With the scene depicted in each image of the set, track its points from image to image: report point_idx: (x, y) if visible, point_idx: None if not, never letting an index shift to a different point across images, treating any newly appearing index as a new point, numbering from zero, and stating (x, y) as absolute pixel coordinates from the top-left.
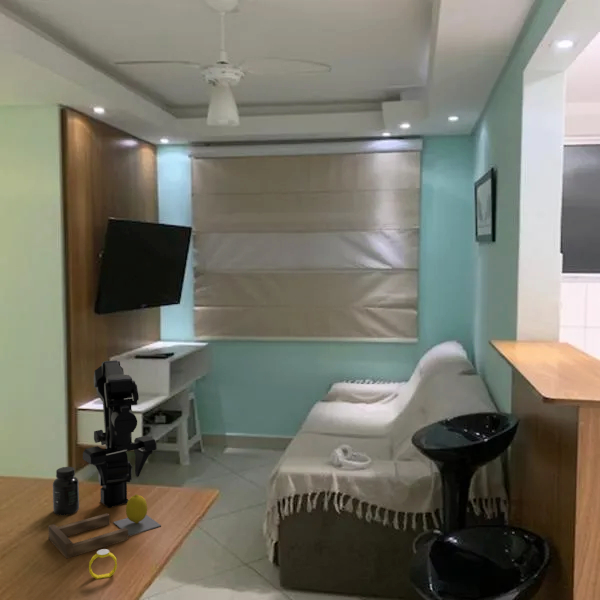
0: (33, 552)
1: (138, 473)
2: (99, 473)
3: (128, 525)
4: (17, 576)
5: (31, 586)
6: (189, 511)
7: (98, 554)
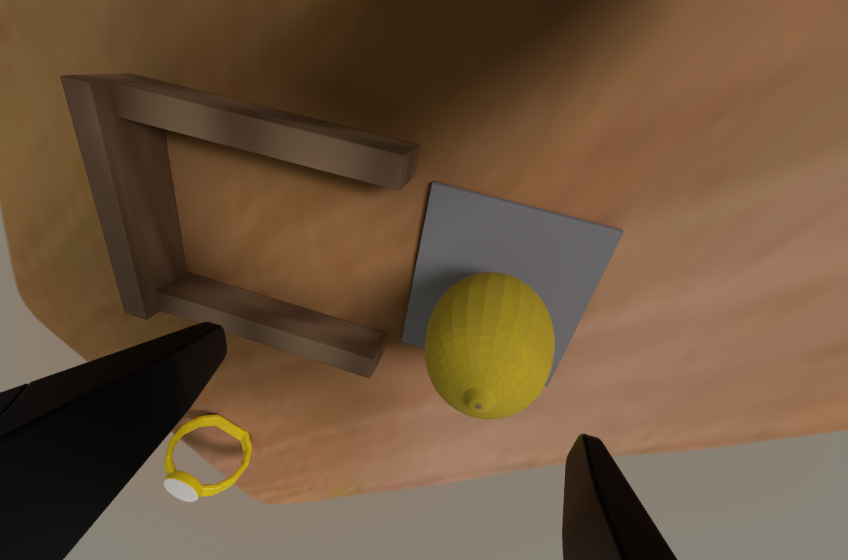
0: (72, 144)
1: (569, 513)
2: (45, 388)
3: (456, 277)
4: (36, 253)
5: (74, 325)
6: (778, 396)
7: (166, 488)
